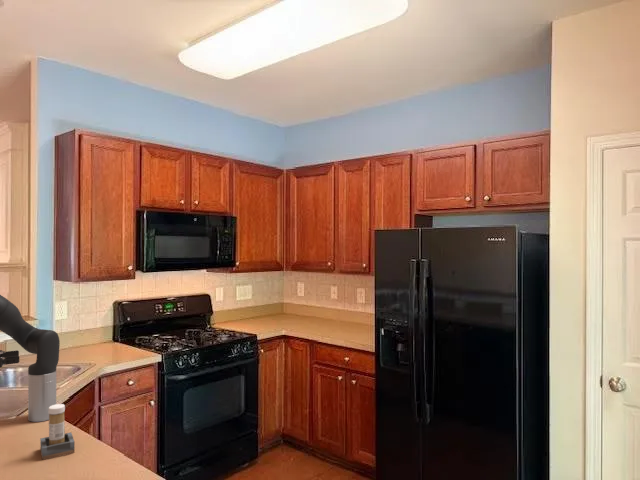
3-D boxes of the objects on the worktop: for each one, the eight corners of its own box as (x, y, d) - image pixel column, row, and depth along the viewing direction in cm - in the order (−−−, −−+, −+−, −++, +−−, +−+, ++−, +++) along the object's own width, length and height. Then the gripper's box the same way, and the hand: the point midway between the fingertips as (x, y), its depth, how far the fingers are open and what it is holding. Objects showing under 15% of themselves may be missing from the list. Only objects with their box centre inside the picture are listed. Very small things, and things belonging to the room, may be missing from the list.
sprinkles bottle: (64, 443, 154) (64, 402, 154) (65, 449, 150) (65, 406, 150) (48, 447, 152) (48, 405, 152) (48, 452, 148) (48, 409, 148)
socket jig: (40, 449, 152) (40, 438, 152) (71, 442, 157) (71, 432, 157) (42, 459, 145) (42, 448, 145) (74, 452, 150) (74, 441, 150)
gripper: (-47, 356, 137) (19, 348, 146) (-43, 346, 149) (18, 340, 158) (-47, 382, 137) (19, 373, 146) (-43, 370, 149) (18, 363, 158)
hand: (19, 356), depth 152 cm, fingers open, 8 cm apart
